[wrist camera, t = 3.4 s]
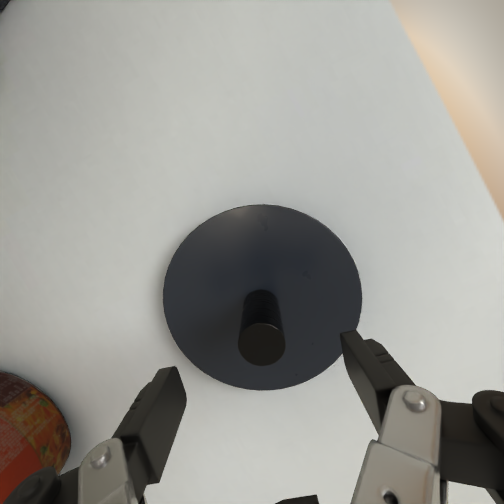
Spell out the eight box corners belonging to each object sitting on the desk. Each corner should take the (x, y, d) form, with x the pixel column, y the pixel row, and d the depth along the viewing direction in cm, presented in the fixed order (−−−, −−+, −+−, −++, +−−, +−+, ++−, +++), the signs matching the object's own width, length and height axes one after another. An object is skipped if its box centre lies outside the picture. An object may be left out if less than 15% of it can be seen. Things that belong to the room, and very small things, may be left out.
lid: (338, 181, 17) (380, 173, 11) (368, 361, 20) (414, 431, 14) (143, 230, 19) (86, 247, 12) (198, 393, 22) (174, 471, 15)
